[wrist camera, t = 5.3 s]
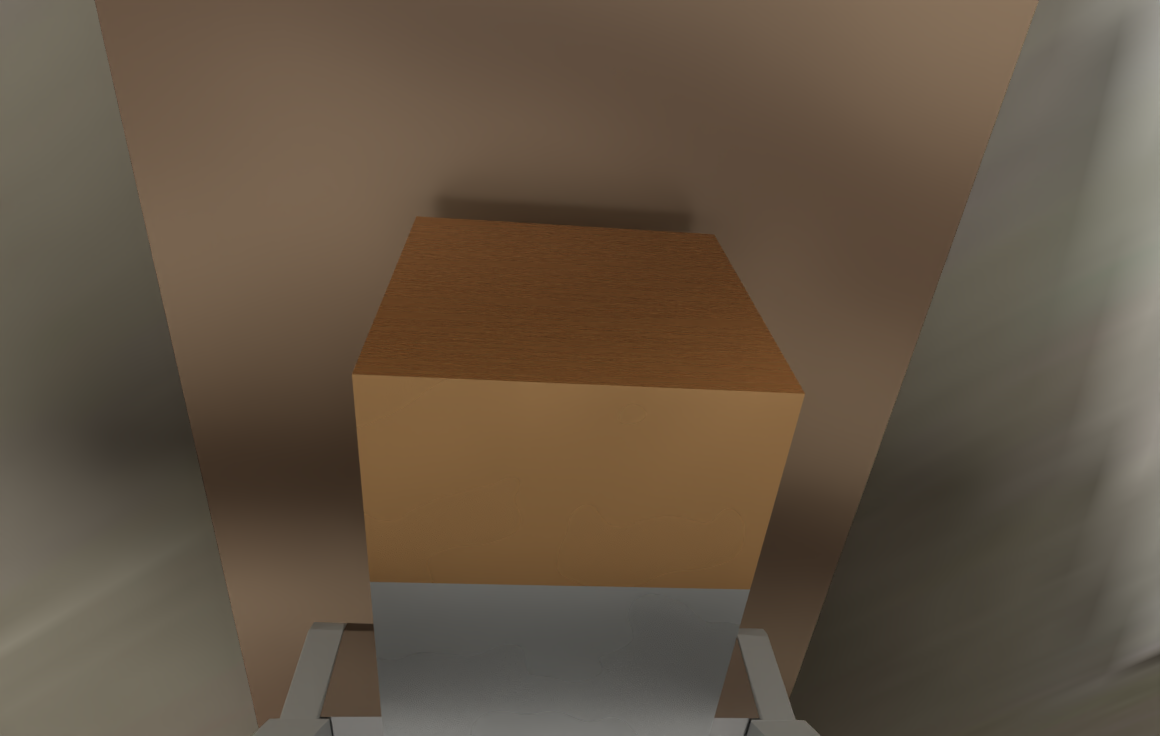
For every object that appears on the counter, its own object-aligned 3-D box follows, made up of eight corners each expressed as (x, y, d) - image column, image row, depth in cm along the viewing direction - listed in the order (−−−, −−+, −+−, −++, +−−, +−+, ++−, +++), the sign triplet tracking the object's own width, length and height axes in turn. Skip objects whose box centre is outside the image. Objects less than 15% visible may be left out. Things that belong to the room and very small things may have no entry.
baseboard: (700, 894, 24) (706, 930, 23) (314, 900, 23) (306, 938, 22) (1312, -954, 7) (1425, -1083, 6) (-121, -1262, 6) (-238, -1473, 5)
